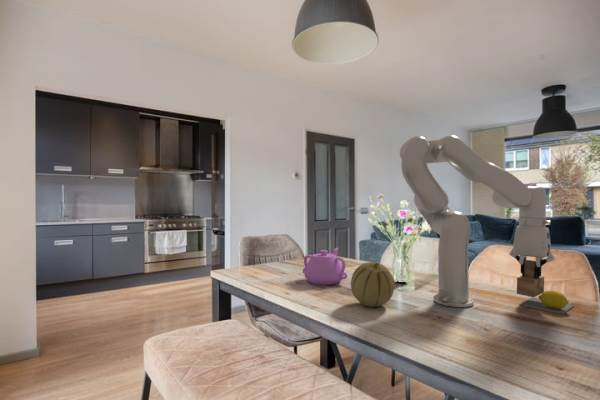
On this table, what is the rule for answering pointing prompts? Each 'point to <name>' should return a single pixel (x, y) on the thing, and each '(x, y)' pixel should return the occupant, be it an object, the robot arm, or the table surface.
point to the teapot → (324, 268)
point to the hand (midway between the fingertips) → (530, 276)
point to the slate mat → (539, 305)
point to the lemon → (553, 299)
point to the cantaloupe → (372, 284)
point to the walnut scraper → (530, 281)
